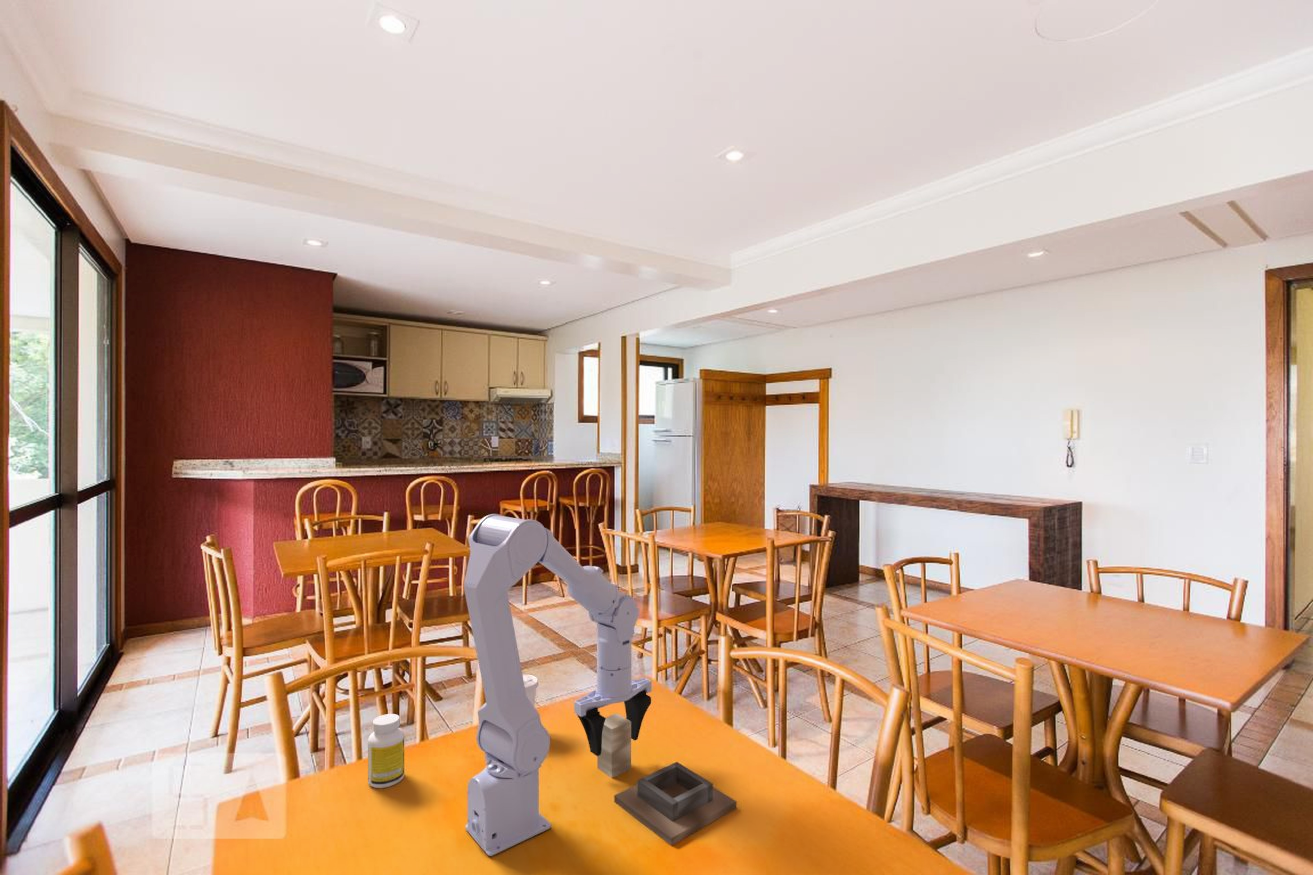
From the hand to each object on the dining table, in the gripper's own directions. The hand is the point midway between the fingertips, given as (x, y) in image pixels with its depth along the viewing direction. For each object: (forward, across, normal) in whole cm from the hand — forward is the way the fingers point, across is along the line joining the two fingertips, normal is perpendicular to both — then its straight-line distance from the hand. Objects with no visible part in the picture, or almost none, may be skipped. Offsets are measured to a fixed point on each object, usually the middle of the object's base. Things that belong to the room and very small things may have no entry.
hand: (614, 745), depth 104 cm
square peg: (+4, 0, 0) cm, 4 cm away
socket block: (+4, -1, +14) cm, 15 cm away
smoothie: (+4, +6, -21) cm, 22 cm away
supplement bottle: (+4, +30, -21) cm, 37 cm away
